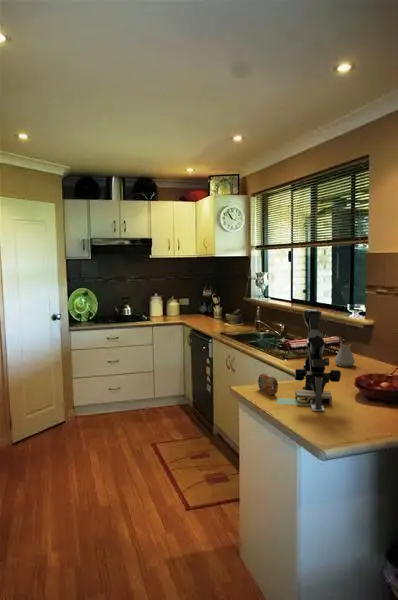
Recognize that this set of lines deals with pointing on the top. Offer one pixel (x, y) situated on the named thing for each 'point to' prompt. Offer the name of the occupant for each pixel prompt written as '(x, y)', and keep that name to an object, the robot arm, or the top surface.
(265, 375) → the tin
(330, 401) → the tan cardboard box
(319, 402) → the grey l-shaped block
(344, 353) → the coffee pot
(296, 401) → the mat
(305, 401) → the token
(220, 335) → the top surface
